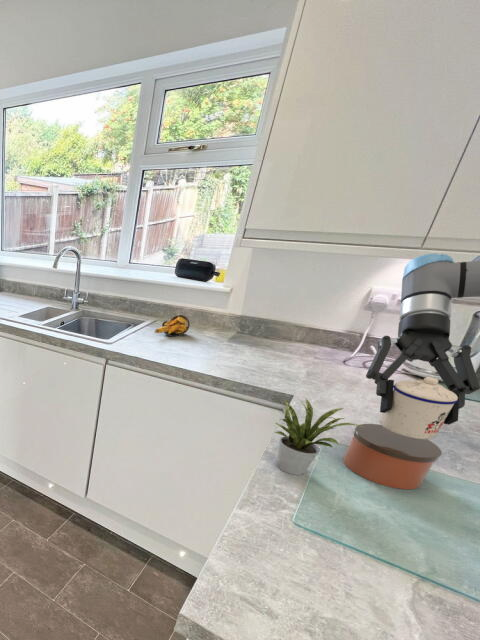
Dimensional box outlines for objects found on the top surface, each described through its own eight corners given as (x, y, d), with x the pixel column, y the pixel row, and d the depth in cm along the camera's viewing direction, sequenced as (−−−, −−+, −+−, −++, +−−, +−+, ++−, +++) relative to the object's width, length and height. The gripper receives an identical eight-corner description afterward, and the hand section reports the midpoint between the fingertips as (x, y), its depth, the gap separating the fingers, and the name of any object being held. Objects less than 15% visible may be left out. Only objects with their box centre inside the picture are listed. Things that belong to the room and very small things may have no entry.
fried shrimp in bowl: (198, 324, 179) (183, 318, 166) (180, 344, 184) (164, 340, 171) (182, 312, 184) (166, 305, 171) (164, 332, 189) (147, 327, 177)
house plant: (342, 470, 93) (372, 405, 86) (332, 498, 84) (365, 429, 77) (267, 444, 102) (289, 384, 95) (252, 468, 93) (275, 404, 86)
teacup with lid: (433, 446, 81) (463, 392, 76) (372, 427, 87) (396, 377, 82) (441, 426, 88) (469, 376, 83) (384, 410, 94) (407, 362, 89)
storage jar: (410, 463, 95) (427, 433, 92) (434, 498, 84) (454, 465, 81) (335, 447, 101) (348, 418, 98) (348, 477, 90) (364, 446, 87)
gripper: (482, 336, 88) (480, 435, 82) (351, 322, 97) (341, 409, 92) (510, 318, 81) (509, 424, 76) (367, 304, 91) (356, 397, 85)
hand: (417, 416), depth 84 cm, fingers closed on teacup with lid, 9 cm apart
